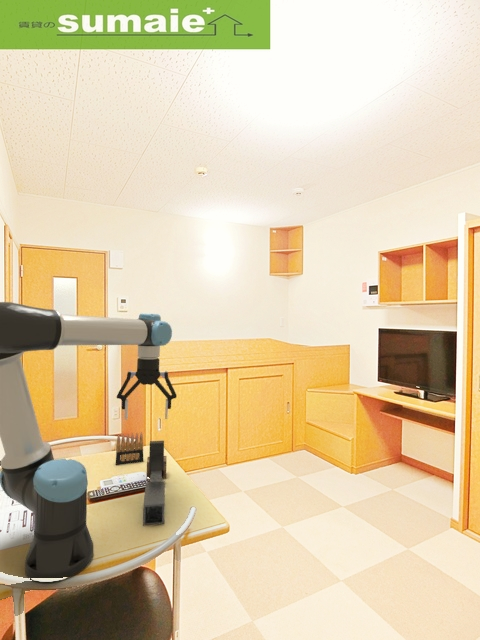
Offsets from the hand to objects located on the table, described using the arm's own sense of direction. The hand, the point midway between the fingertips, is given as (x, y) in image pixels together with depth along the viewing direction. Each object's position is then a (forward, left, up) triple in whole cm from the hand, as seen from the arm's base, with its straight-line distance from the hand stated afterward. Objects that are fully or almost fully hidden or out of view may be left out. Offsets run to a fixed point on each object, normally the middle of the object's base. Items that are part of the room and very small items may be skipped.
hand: (146, 418), depth 129 cm
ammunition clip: (+21, +7, -24) cm, 33 cm away
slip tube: (-2, -4, -23) cm, 23 cm away
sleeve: (-17, -4, -24) cm, 30 cm away
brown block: (+7, -4, -24) cm, 26 cm away
